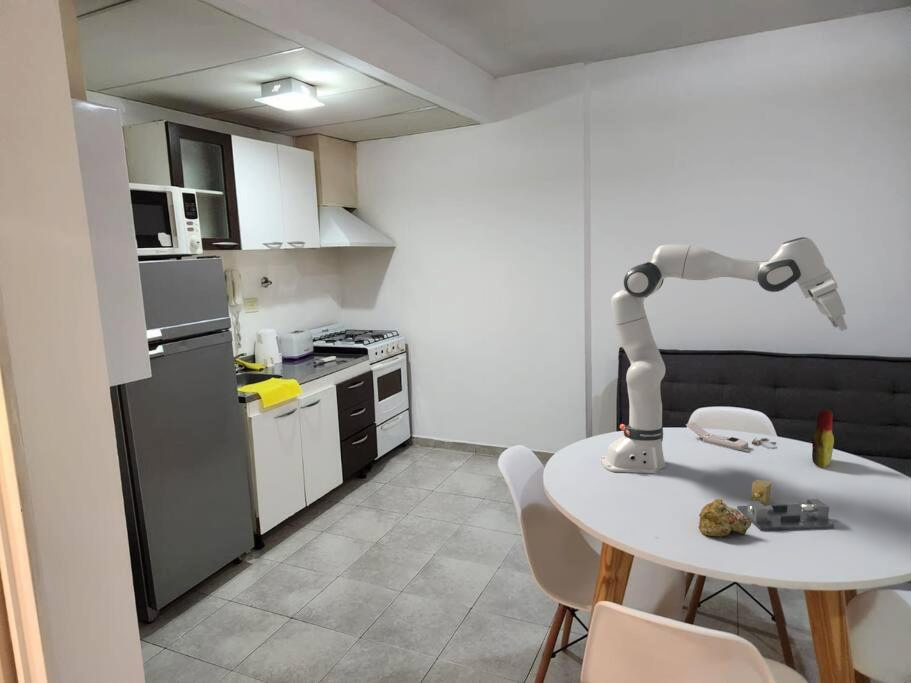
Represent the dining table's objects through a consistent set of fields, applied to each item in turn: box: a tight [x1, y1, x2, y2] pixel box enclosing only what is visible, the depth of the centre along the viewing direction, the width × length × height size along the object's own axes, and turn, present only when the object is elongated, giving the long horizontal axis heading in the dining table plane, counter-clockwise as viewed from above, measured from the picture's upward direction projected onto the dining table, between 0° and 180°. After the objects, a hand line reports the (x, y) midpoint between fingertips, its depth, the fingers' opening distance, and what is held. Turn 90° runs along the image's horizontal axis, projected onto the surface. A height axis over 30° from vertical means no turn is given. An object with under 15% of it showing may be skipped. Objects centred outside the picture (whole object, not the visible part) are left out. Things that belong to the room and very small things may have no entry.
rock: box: [698, 498, 753, 537], centre depth 154 cm, size 12×9×10 cm
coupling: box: [751, 479, 773, 505], centre depth 173 cm, size 7×4×6 cm, turn 130°
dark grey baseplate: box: [736, 498, 835, 532], centre depth 161 cm, size 21×13×5 cm, turn 90°
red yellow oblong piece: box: [811, 408, 835, 468], centre depth 197 cm, size 12×6×20 cm, turn 142°
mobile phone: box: [685, 421, 750, 453], centre depth 222 cm, size 6×6×25 cm
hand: (840, 328), depth 168 cm, fingers open, 8 cm apart
